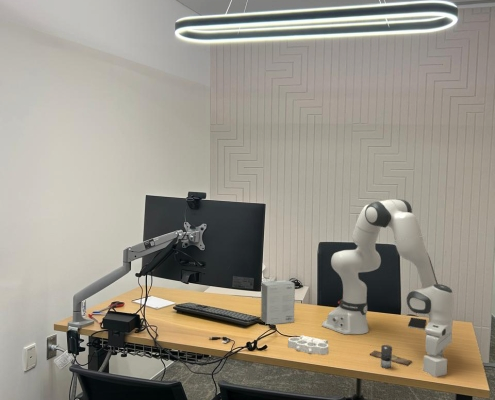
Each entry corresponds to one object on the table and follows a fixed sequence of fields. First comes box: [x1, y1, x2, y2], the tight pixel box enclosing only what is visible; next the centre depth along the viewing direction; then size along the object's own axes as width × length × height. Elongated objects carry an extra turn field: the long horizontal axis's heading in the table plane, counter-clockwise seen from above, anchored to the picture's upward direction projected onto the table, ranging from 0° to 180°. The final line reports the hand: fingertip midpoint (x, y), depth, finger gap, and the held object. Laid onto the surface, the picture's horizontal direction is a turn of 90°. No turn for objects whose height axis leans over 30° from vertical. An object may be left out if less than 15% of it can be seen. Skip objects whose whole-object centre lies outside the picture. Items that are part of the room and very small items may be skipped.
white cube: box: [422, 354, 448, 378], centre depth 182 cm, size 6×6×6 cm
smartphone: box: [407, 317, 428, 331], centre depth 240 cm, size 8×1×15 cm
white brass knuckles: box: [287, 334, 330, 356], centre depth 205 cm, size 3×18×15 cm
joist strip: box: [369, 350, 413, 367], centre depth 195 cm, size 16×6×1 cm, turn 50°
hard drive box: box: [260, 279, 296, 325], centre depth 239 cm, size 16×8×20 cm, turn 108°
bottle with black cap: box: [380, 344, 393, 370], centre depth 187 cm, size 4×4×8 cm
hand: (438, 359), depth 190 cm, fingers closed
